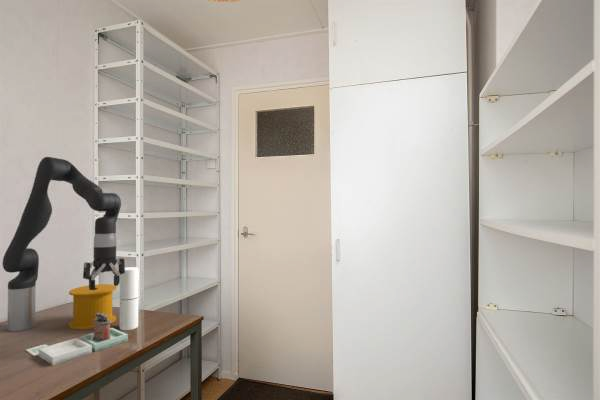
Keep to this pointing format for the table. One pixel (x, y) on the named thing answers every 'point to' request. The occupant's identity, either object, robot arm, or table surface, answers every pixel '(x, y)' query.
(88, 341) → the green tray
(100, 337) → the lighter
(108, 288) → the spool
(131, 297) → the cylindrical container
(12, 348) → the table surface
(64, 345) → the white tray
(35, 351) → the card
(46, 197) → the robot arm
